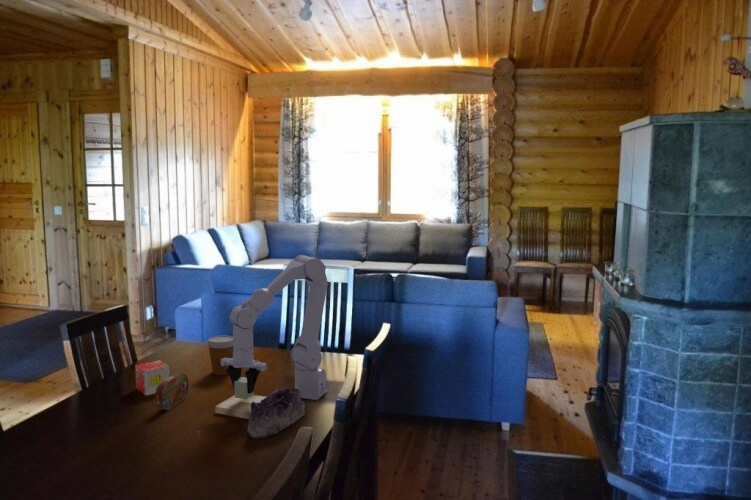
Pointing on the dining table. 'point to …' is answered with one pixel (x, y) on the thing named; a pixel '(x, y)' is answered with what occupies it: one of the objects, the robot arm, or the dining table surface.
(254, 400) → the slab
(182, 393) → the tin
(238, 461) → the dining table surface
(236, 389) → the block
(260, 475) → the dining table surface
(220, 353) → the disposable coffee cup
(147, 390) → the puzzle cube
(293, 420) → the geode
